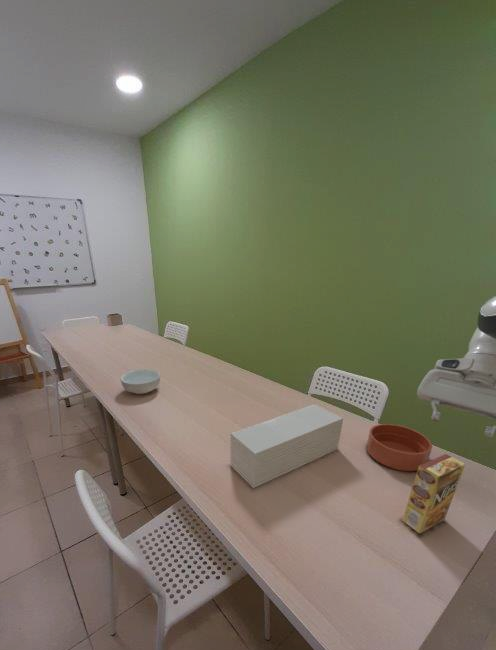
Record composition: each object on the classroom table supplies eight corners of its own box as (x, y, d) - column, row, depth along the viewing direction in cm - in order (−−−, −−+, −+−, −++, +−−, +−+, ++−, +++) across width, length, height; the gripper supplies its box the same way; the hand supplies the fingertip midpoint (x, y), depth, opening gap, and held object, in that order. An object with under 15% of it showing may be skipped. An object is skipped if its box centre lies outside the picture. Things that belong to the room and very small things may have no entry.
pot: (432, 455, 87) (438, 437, 85) (417, 480, 78) (423, 461, 75) (376, 434, 97) (380, 418, 95) (357, 455, 88) (361, 438, 86)
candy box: (419, 535, 63) (440, 477, 57) (400, 520, 66) (418, 464, 60) (445, 520, 66) (467, 464, 60) (425, 506, 70) (444, 452, 64)
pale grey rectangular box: (253, 488, 77) (255, 453, 72) (230, 465, 85) (230, 433, 81) (337, 449, 91) (343, 418, 87) (310, 432, 99) (314, 403, 95)
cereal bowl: (126, 401, 124) (124, 386, 121) (119, 387, 138) (117, 373, 135) (166, 393, 130) (164, 378, 127) (155, 380, 144) (154, 366, 141)
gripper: (542, 393, 64) (521, 451, 62) (429, 370, 78) (409, 416, 76) (551, 380, 60) (529, 442, 57) (430, 358, 73) (408, 407, 71)
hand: (459, 427), depth 67 cm, fingers open, 8 cm apart
